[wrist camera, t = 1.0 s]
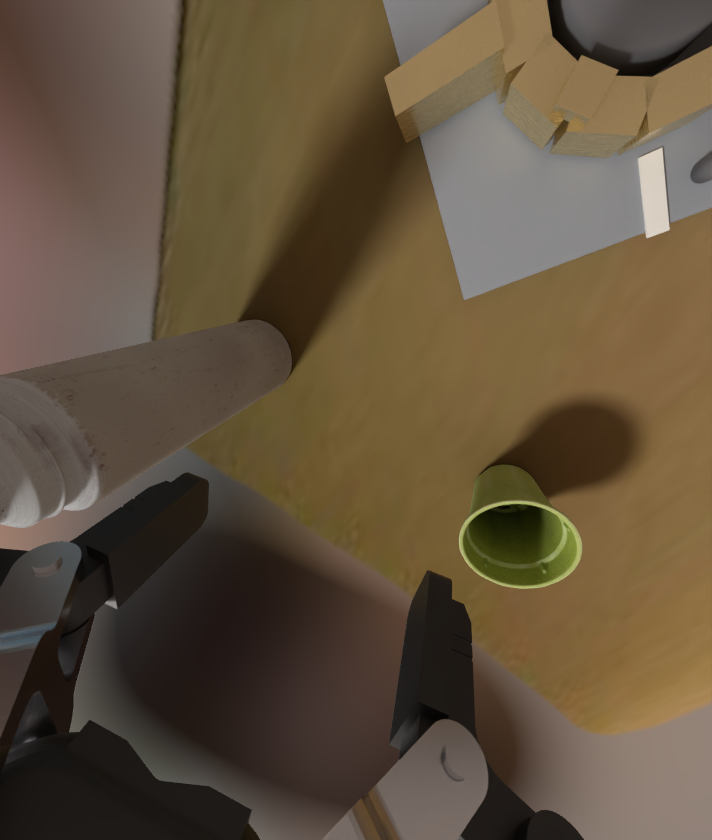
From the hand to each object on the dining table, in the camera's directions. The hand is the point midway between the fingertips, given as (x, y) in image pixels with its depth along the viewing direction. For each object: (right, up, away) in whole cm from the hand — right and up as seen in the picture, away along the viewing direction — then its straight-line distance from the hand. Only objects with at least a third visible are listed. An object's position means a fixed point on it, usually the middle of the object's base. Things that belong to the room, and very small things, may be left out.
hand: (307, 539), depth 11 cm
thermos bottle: (-9, +11, +26) cm, 30 cm away
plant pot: (+18, -3, +24) cm, 30 cm away
